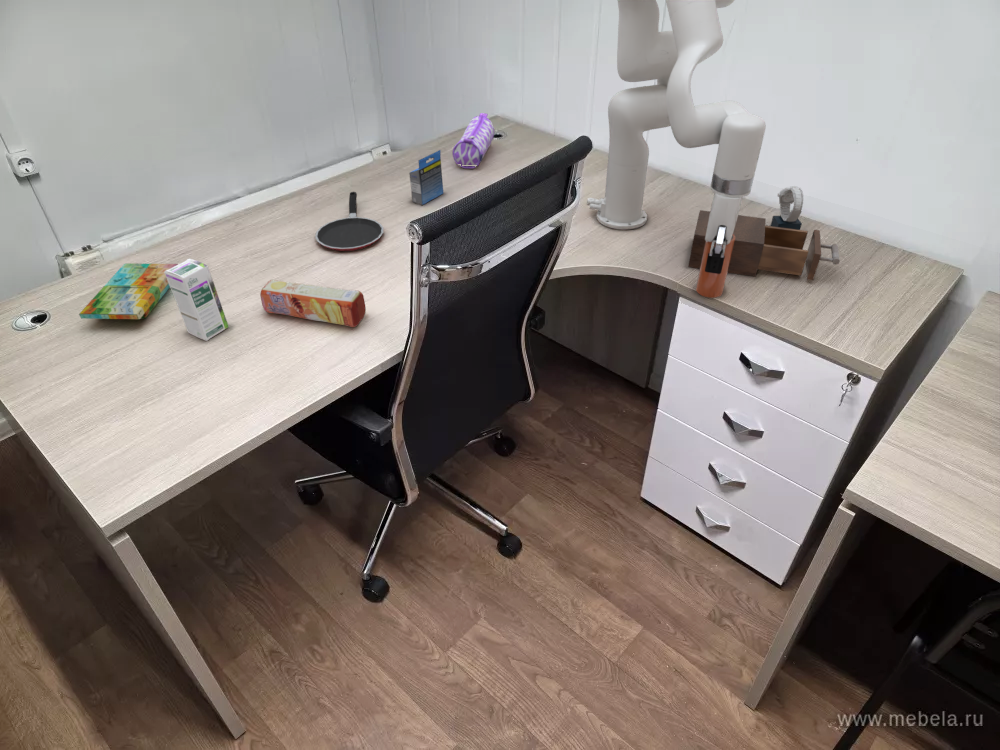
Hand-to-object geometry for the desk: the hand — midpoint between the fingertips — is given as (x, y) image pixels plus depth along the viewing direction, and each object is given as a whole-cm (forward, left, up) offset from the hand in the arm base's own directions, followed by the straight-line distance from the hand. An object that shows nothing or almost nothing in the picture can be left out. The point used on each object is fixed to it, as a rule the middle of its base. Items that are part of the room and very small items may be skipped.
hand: (714, 260), depth 141 cm
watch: (+15, +33, -7) cm, 37 cm away
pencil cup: (0, 0, -7) cm, 7 cm away
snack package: (-76, -34, -7) cm, 84 cm away
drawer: (+17, +15, -6) cm, 23 cm away
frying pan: (-88, +4, -7) cm, 88 cm away
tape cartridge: (-76, +25, -7) cm, 80 cm away
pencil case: (-74, +56, -7) cm, 93 cm away
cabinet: (+2, +15, -7) cm, 17 cm away
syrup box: (-94, -45, -7) cm, 104 cm away
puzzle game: (-115, -41, -7) cm, 122 cm away
